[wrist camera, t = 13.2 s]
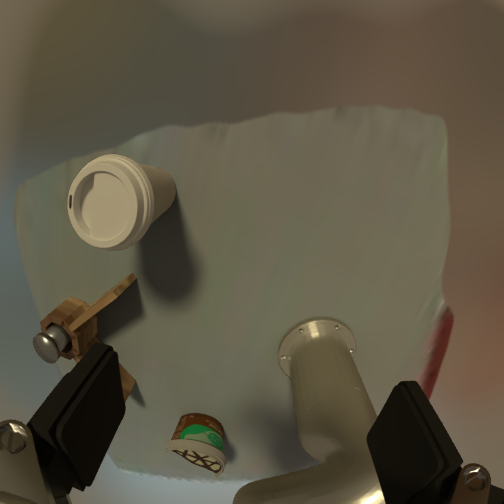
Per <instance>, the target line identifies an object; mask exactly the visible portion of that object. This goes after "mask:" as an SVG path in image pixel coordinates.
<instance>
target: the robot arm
mask: <svg viewBox="0 0 504 504" xmlns="http://www.w3.org/2000/svg"><path fill="white" fill-rule="evenodd" d="M301 328H302V329H301ZM355 352H356V342H355V338H354V336H353V334H352V332H351V330H350V329H349V328H348V327H347V326H346V325H345V324H343V323H342V322H340V321H338V320H335V319H331V318H314V319H310V320H307V321H304V322H302V323H300V324H298V325H296V326H295V327H293V328H292V329H291V330H289V332H288V333H287V334H286V335H285V336H284V338H283V339H282V341H281V343H280V345H279V350H278V360H279V364H280V367H281V369H282V370H283V372H284V373H285V374H286V375H287V376H289V377H290V378H291V384H292V392H293V399H294V408H295V416H296V424H297V431H298V438H299V441H300V443H301V445H302V447H303V448H304V450H305V451H306V452H307V453H308V454H309V455H310V456H311V457H312V458H314V459H315V460H317V461H318V462H320V463H322V464H319V465H316V466H313V467H310V468H308V469H304V470H300V471H296V472H292V473H288V474H284V475H279V476H275V477H271V478H266V479H261V480H257V481H254V482H251V483H248V484H246V485H244V486H243V487H242V488H240V489H239V490H238V492H237V493H236V495H235V497H234V500H233V504H504V489H501V488H498V487H496V486H493V485H491V477H490V474H489V472H488V471H487V469H486V468H484V467H483V466H481V465H480V464H476V463H471V464H467V465H465V466H464V467H463V468H461V466H460V465H461V464H462V463H463V460H462V458H461V456H460V454H459V452H458V450H457V449H456V447H455V445H454V443H453V442H452V440H451V438H450V436H449V434H448V433H447V431H446V429H445V427H444V426H443V424H442V422H441V421H440V419H439V417H438V415H437V414H436V412H435V411H434V409H433V407H432V405H431V404H430V402H429V400H428V399H427V397H426V395H425V394H424V392H423V391H422V389H421V387H420V386H419V384H418V383H417V382H416V381H401V382H400V383H399V384H398V385H396V386H395V387H394V388H393V390H392V392H391V394H390V396H389V398H388V400H387V401H386V403H385V405H384V407H383V409H382V410H381V412H380V414H379V416H378V417H377V415H376V412H375V410H374V407H373V405H372V403H371V400H370V398H369V396H368V393H367V391H366V388H365V386H364V384H363V381H362V379H361V377H360V374H359V372H358V370H357V367H356V365H355V363H354V360H353V358H354V355H355ZM125 409H126V407H125V401H124V395H123V389H122V382H121V375H120V368H119V360H118V354H117V352H115V351H114V350H113V347H112V346H109V345H106V344H102V343H99V342H95V343H94V344H93V345H92V346H91V347H90V349H89V350H88V351H87V352H86V353H85V355H84V356H83V357H82V358H81V359H80V361H79V362H78V363H77V364H76V366H75V367H74V368H73V369H72V370H71V372H69V373H67V374H66V375H65V376H64V377H63V378H62V379H61V381H60V382H59V383H58V385H57V386H56V387H55V388H54V389H53V391H52V392H51V393H50V395H49V396H48V397H47V398H46V400H45V401H44V402H43V404H42V405H41V406H40V407H39V409H38V410H37V411H36V413H35V414H34V415H33V417H32V418H31V419H30V421H29V422H28V423H27V425H25V424H23V423H22V422H20V421H17V420H5V421H2V422H0V504H72V502H71V500H70V497H69V495H68V494H69V493H70V491H71V489H72V487H74V488H76V489H78V490H81V491H84V489H85V487H86V486H88V487H89V486H91V485H92V483H93V480H94V478H95V476H96V474H97V472H98V469H99V467H100V465H101V463H102V461H103V459H104V457H105V454H106V452H107V450H108V448H109V446H110V444H111V442H112V440H113V437H114V435H115V433H116V431H117V429H118V427H119V425H120V423H121V421H122V419H123V417H124V414H125Z"/></svg>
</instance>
